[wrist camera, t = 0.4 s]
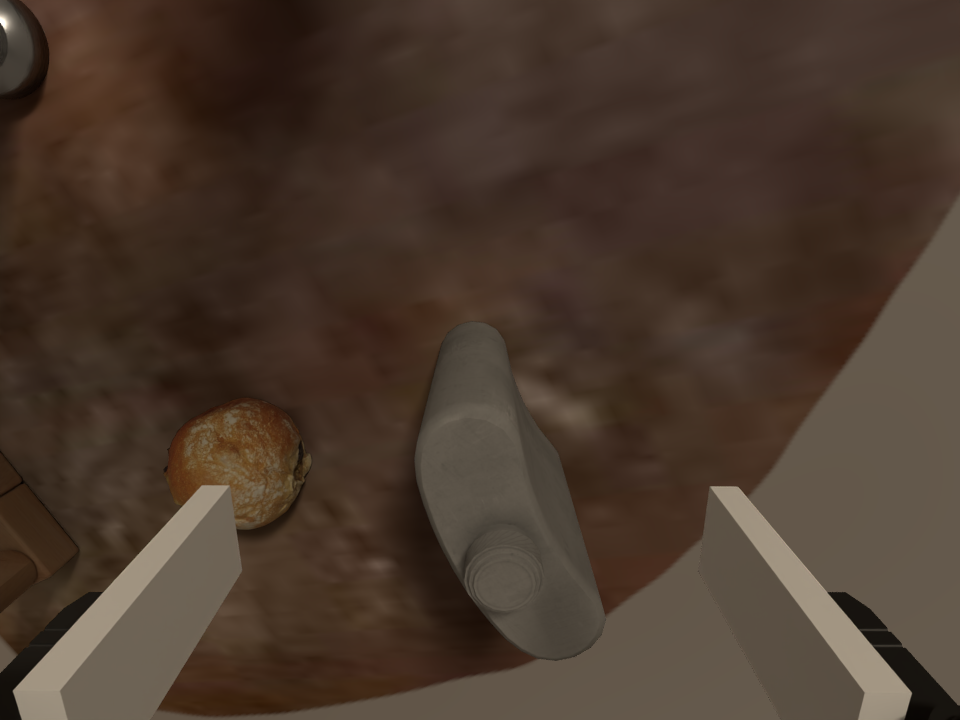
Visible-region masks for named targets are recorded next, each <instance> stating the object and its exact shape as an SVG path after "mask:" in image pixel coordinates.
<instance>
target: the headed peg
mask: <svg viewBox="0 0 960 720" xmlns="http://www.w3.org/2000/svg"><path fill="white" fill-rule="evenodd" d="M48 64H49V49H48V43H47V39H46V36H45V33H44V31H43V29H42V27H41V25H40V23H39V21H38V20H37V18H36V17H35V15H34V14H33V13H32V12H31V11H30V9H29V8H28V7H27V6H26V5H25V4H23V3H22V2H21V1H20V0H0V98H2V99H17V98H22V97H24V96H27V95H29V94H31V93H32V92H33V91H35V90H36V89H37V88H38V87H39V86H40V84H41V83H42V81H43V80H44V78H45V75H46V73H47V69H48Z"/></svg>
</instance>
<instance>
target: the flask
mask: <svg viewBox="0 0 960 720" xmlns="http://www.w3.org/2000/svg"><path fill="white" fill-rule="evenodd" d="M414 461H415V472H416V481H417V485H418V488H419V491H420V495H421V498H422V501H423V505H424V507H425V510H426V513H427V515H428V518H429V521H430V523H431V526H432V528H433V531H434V533H435V535H436V537H437V539H438V542H439V544H440V546H441V548H442V550H443V552H444V554H445V556H446V558H447V560H448V561H449V563H450V565H451V567H452V569H453V570H454V572H455V574H456V575H457V577H458V579H459V580H460V582H461V583H462V585H463V587H464V588H465V590H466V591H467V592H468V595H469V596H470V597H471V598H472V600H473V601H474V602H475V604H476V605H477V607H478V608H479V609H480V610H481V612H482V613H483V614H484V615H485V616H486V618H487V619H488V620H489V621H490V623H491V624H492V625H493V626H494V627H495V628H496V629H497V630H498V631H499V632H500V634H501V635H502V636H503V637H504V638H505V639H506V640H507V641H509V642H510V643H511V644H513V645H514V646H515V647H517V648H518V649H519V650H521V651H523V652H525V653H527V654H529V655H531V656H533V657H535V658H538V659H546V660H555V661H557V660H562V659H567V658H571V657H575V656H577V655H579V654H581V653H582V652H584V651H586V650H587V649H589V648H591V646H592V645H593V644H594V643H595V642H596V641H597V640H598V638H599V637H600V636H601V635H602V631H603V628H604V624H605V621H606V618H605V614H604V610H603V607H602V603H601V599H600V596H599V592H598V589H597V586H596V582H595V579H594V575H593V572H592V568H591V565H590V561H589V558H588V555H587V551H586V548H585V544H584V541H583V537H582V534H581V530H580V527H579V524H578V520H577V517H576V513H575V510H574V506H573V503H572V499H571V496H570V493H569V489H568V486H567V482H566V479H565V475H564V472H563V469H562V465H561V462H560V458H559V455H558V452H557V451H556V449H555V448H554V447H553V445H552V444H551V443H550V442H549V440H548V439H547V438H546V436H545V435H544V434H543V433H542V432H541V430H540V429H539V428H538V426H537V425H536V423H535V421H534V420H533V418H532V417H531V415H530V413H529V411H528V409H527V407H526V406H525V404H524V402H523V400H522V397H521V395H520V393H519V390H518V388H517V385H516V383H515V380H514V377H513V374H512V371H511V366H510V362H509V358H508V354H507V349H506V345H505V341H504V339H503V338H502V336H501V335H500V334H499V332H498V331H497V329H495V328H493V327H491V326H490V325H488V324H486V323H482V322H473V321H471V322H467V323H464V324H460V325H458V326H456V327H455V328H454V329H452V330H451V331H450V332H448V334H447V335H446V337H445V339H444V340H443V342H442V345H441V348H440V352H439V356H438V360H437V364H436V368H435V372H434V376H433V380H432V384H431V388H430V392H429V396H428V400H427V404H426V408H425V412H424V416H423V420H422V424H421V428H420V432H419V436H418V440H417V446H416V453H415V459H414Z"/></svg>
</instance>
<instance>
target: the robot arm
mask: <svg viewBox="0 0 960 720" xmlns="http://www.w3.org/2000/svg"><path fill="white" fill-rule="evenodd" d="M241 572H242V567H241V560H240V553H239V546H238V539H237V532H236V525H235V518H234V511H233V504H232V497H231V490H230V486H229V485H202V486H201V487H200V488H199V489H198V490H197V491H196V492H195V493H194V495H193V496H192V497H191V498H190V499H189V500H188V501H187V502H186V503H185V504H184V505H183V507H182V508H181V509H180V510H179V511H178V512H177V513H176V514H175V515H174V516H173V517H172V518H171V520H170V521H169V522H168V523H167V524H166V525H165V526H164V527H163V528H162V529H161V530H160V531H159V533H158V534H157V535H156V536H155V537H154V538H153V539H152V540H151V541H150V542H149V543H148V545H147V546H146V547H145V548H144V549H143V550H142V551H141V552H140V553H139V554H138V555H137V556H136V558H135V559H134V560H133V561H132V562H131V563H130V564H129V565H128V566H127V567H126V568H125V569H124V571H123V572H122V573H121V574H120V575H119V576H118V577H117V578H116V579H115V580H114V581H113V583H112V584H111V585H110V586H109V587H108V588H107V589H106V590H105V591H104V592H89V593H87V594H85V595H84V596H82V597H81V598H79V599H78V600H76V601H75V602H73V603H72V604H70V605H68V606H67V607H65V608H64V609H63V610H62V611H61V612H60V613H59V614H58V615H57V616H56V617H55V618H54V619H53V620H52V621H51V622H50V623H49V624H48V625H47V626H46V627H45V630H44V631H41V632H40V633H39V634H38V635H37V636H36V637H35V638H34V639H33V640H32V641H31V642H30V645H29V647H26V648H25V649H24V650H23V651H22V652H21V653H20V654H19V655H18V656H17V657H16V658H15V659H14V660H13V661H12V662H11V663H10V664H9V665H8V666H7V667H6V668H5V669H4V670H3V671H2V672H1V673H0V720H151V718H152V716H153V715H154V713H155V712H156V710H157V708H158V707H159V705H160V703H161V702H162V700H163V699H164V697H165V695H166V694H167V692H168V690H169V689H170V687H171V686H172V684H173V682H174V681H175V679H176V677H177V676H178V674H179V673H180V671H181V669H182V668H183V666H184V664H185V663H186V661H187V660H188V658H189V656H190V655H191V653H192V651H193V650H194V648H195V647H196V645H197V643H198V642H199V640H200V638H201V637H202V635H203V634H204V632H205V630H206V629H207V627H208V625H209V624H210V622H211V621H212V619H213V617H214V616H215V614H216V612H217V611H218V609H219V608H220V606H221V604H222V603H223V601H224V599H225V598H226V596H227V595H228V593H229V591H230V590H231V588H232V586H233V585H234V583H235V582H236V580H237V578H238V577H239V575H240V573H241ZM698 572H699V574H700V576H701V578H702V579H703V581H704V583H705V585H706V586H707V588H708V590H709V592H710V594H711V596H712V597H713V599H714V601H715V603H716V604H717V606H718V608H719V610H720V612H721V613H722V615H723V617H724V619H725V621H726V622H727V624H728V626H729V628H730V630H731V631H732V633H733V635H734V637H735V639H736V640H737V642H738V644H739V646H740V648H741V649H742V651H743V653H744V655H745V656H746V658H747V660H748V662H749V664H750V665H751V667H752V669H753V671H754V673H755V674H756V676H757V678H758V680H759V682H760V683H761V685H762V687H763V689H764V690H765V692H766V694H767V696H768V698H769V700H770V701H771V703H772V705H773V707H774V708H775V710H776V712H777V714H778V716H779V717H780V719H781V720H960V706H958V705H957V704H956V703H955V702H954V701H953V699H952V698H951V697H950V696H949V695H948V694H947V693H946V692H945V691H944V689H943V688H942V687H941V686H940V685H939V684H938V683H937V682H936V681H935V680H934V679H933V677H931V675H930V674H929V673H928V672H927V671H926V670H925V669H924V668H923V666H922V665H921V664H920V663H919V662H918V661H917V660H916V659H915V658H914V657H913V656H912V654H911V653H910V652H909V651H908V650H907V649H906V648H903V647H902V644H901V642H900V641H899V640H898V639H897V638H896V637H895V636H894V635H893V634H892V633H891V632H888V630H887V627H886V626H885V625H884V624H883V623H882V621H881V620H880V619H879V618H878V617H877V616H876V615H875V614H874V613H873V612H872V611H871V609H869V608H868V607H866V606H865V605H864V604H862V603H861V602H859V601H858V600H856V599H855V598H853V597H852V596H850V595H849V594H847V593H846V592H826V590H825V589H824V588H823V587H822V586H821V585H820V584H819V582H818V581H817V580H816V579H815V577H814V576H813V575H812V574H811V573H810V572H809V570H808V569H807V568H806V567H805V566H804V564H803V563H802V562H801V561H800V560H799V558H798V557H797V556H796V555H795V554H794V553H793V552H792V550H791V549H790V548H789V547H788V545H787V544H786V543H785V542H784V541H783V540H782V538H781V537H780V536H779V535H778V534H777V532H776V531H775V530H774V529H773V528H772V527H771V525H770V524H769V523H768V522H767V521H766V519H765V518H764V517H763V516H762V515H761V513H760V512H759V511H758V510H757V509H756V508H755V506H754V505H753V504H752V503H751V502H750V500H749V499H748V498H747V497H746V496H745V494H744V493H743V492H742V491H741V490H740V489H739V487H710V489H709V496H708V503H707V511H706V518H705V526H704V533H703V541H702V548H701V555H700V563H699V571H698Z"/></svg>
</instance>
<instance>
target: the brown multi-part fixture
mask: <svg viewBox="0 0 960 720" xmlns="http://www.w3.org/2000/svg"><path fill="white" fill-rule="evenodd" d="M21 482H22V478H21V477H20V475H19V474H18V473H17V472H16V470H15V469H14V468H13V467H12V465H11V464H10V463H9V462H8V461H7V459H6V458H5V457H4V456H3V454H2V453H1V452H0V613H1V612H2V611H3V610H4V609H5V608H7V607H8V606H9V605H10V604H11V603H12V602H13V601H14V600H16V599H17V598H18V597H19V596H20V595H21V594H22V593H24V592H25V591H26V590H27V589H28V588H29V587H31V586H33V585H35V584H37V583H39V582H41V581H44V580H46V579H48V578H50V577H51V576H53V575H54V574H55V573H56V572H57V571H58V570H59V569H60V568H61V567H62V566H64V565H65V564H66V563H67V562H68V561H69V560H70V559H71V558H72V557H74V556H75V555H76V554H77V553H78V551H79V549H78V547H77V546H76V545H75V544H74V542H73V541H72V540H71V539H70V538H69V536H68V535H67V534H66V533H65V531H64V530H63V529H62V528H61V526H60V525H59V524H58V523H57V522H56V520H55V519H54V518H53V517H52V515H51V514H50V513H49V512H48V511H47V509H46V508H45V507H44V506H43V504H42V503H41V502H40V501H39V499H38V498H37V497H36V496H35V495H34V493H33V492H32V491H31V490H30V488H29V487H28V486H27V485H26V484H20V483H21Z"/></svg>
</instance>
